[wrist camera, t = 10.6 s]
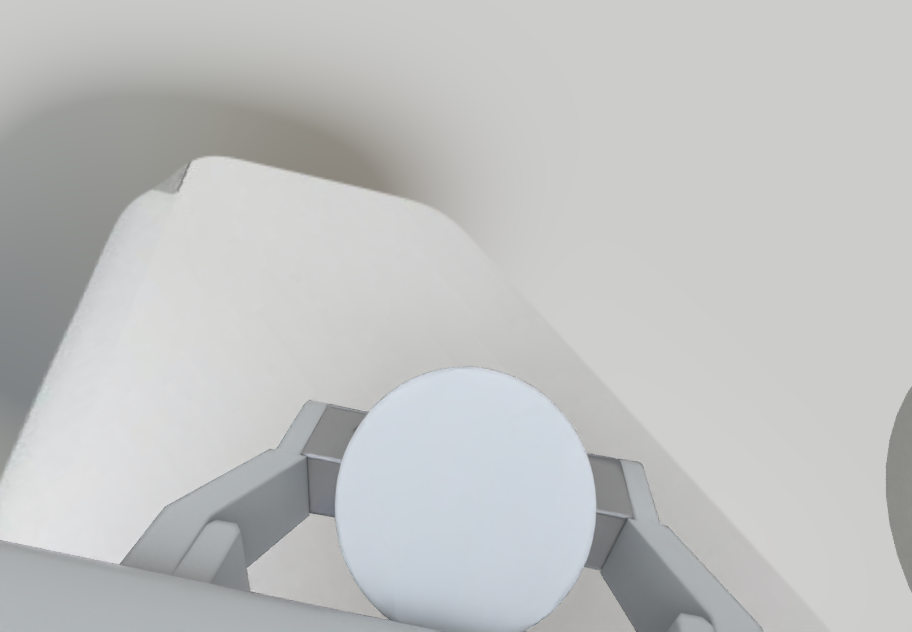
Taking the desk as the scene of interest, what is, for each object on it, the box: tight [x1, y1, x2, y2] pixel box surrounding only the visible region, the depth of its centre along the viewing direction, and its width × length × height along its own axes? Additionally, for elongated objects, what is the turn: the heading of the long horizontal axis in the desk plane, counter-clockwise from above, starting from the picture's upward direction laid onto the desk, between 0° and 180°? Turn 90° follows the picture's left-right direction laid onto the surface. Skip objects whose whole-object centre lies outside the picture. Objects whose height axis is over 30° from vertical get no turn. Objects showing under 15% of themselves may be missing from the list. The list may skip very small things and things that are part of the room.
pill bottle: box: [335, 367, 597, 632], centre depth 11 cm, size 5×5×8 cm
